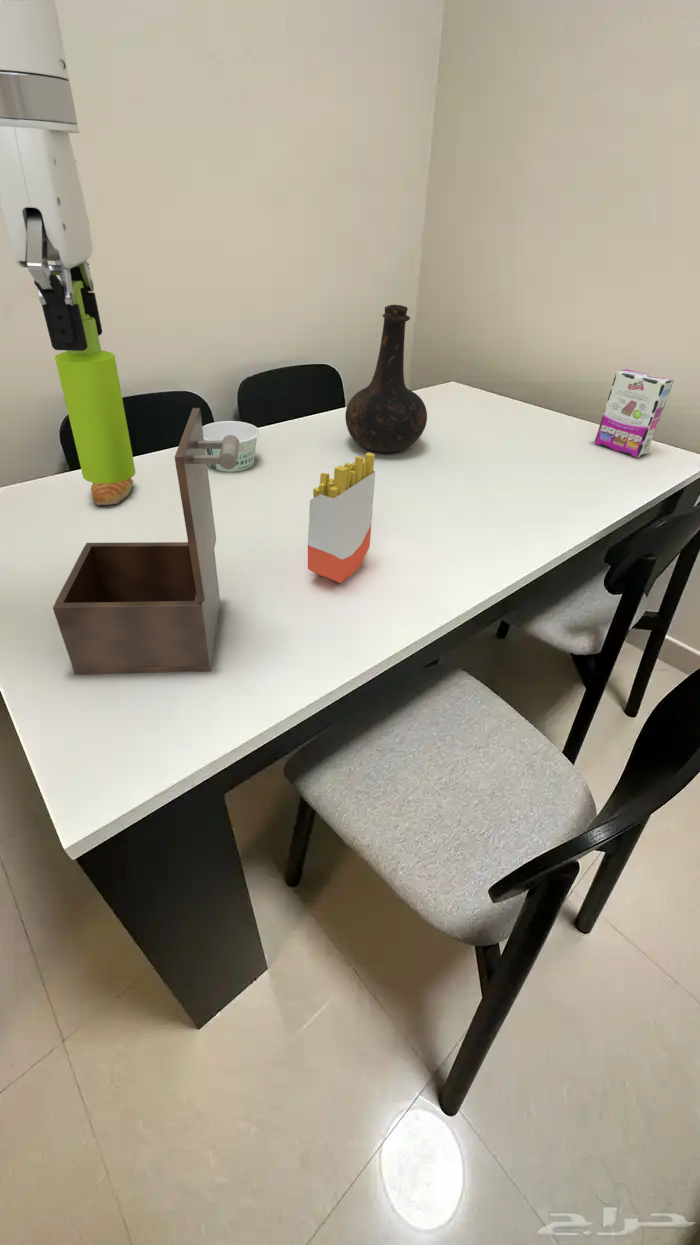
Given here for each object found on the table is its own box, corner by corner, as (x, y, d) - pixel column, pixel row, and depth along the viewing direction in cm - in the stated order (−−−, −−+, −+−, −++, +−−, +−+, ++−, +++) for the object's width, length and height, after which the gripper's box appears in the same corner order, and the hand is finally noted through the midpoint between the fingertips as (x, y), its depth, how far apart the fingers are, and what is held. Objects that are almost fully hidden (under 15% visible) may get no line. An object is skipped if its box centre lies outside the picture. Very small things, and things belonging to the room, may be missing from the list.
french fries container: (305, 581, 86) (305, 466, 75) (344, 551, 94) (349, 442, 82) (331, 592, 84) (334, 475, 73) (369, 560, 92) (377, 450, 81)
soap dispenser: (76, 488, 65) (26, 283, 54) (88, 465, 71) (44, 276, 59) (131, 486, 66) (93, 285, 55) (138, 464, 72) (105, 277, 60)
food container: (236, 479, 113) (233, 447, 109) (188, 465, 117) (184, 433, 113) (272, 460, 121) (271, 429, 117) (227, 447, 126) (224, 416, 121)
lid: (174, 456, 54) (231, 456, 54) (192, 407, 64) (240, 408, 65) (197, 602, 64) (245, 600, 64) (210, 538, 75) (250, 538, 75)
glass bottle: (354, 463, 122) (362, 315, 104) (336, 433, 135) (340, 297, 118) (434, 459, 125) (455, 315, 108) (408, 430, 139) (423, 298, 122)
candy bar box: (647, 453, 134) (675, 379, 124) (637, 458, 131) (665, 383, 121) (603, 439, 140) (626, 367, 130) (592, 443, 138) (615, 370, 127)
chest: (74, 674, 69) (52, 607, 62) (103, 605, 79) (86, 542, 73) (210, 671, 70) (201, 605, 64) (220, 603, 81) (213, 541, 75)
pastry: (126, 508, 102) (121, 487, 99) (86, 508, 101) (80, 488, 98) (135, 485, 109) (131, 465, 107) (98, 485, 108) (93, 466, 106)
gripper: (14, 111, 55) (64, 323, 66) (-68, 94, 41) (11, 363, 53) (97, 117, 56) (132, 325, 67) (42, 102, 42) (97, 365, 53)
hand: (78, 340), depth 60 cm, fingers closed on soap dispenser, 5 cm apart
